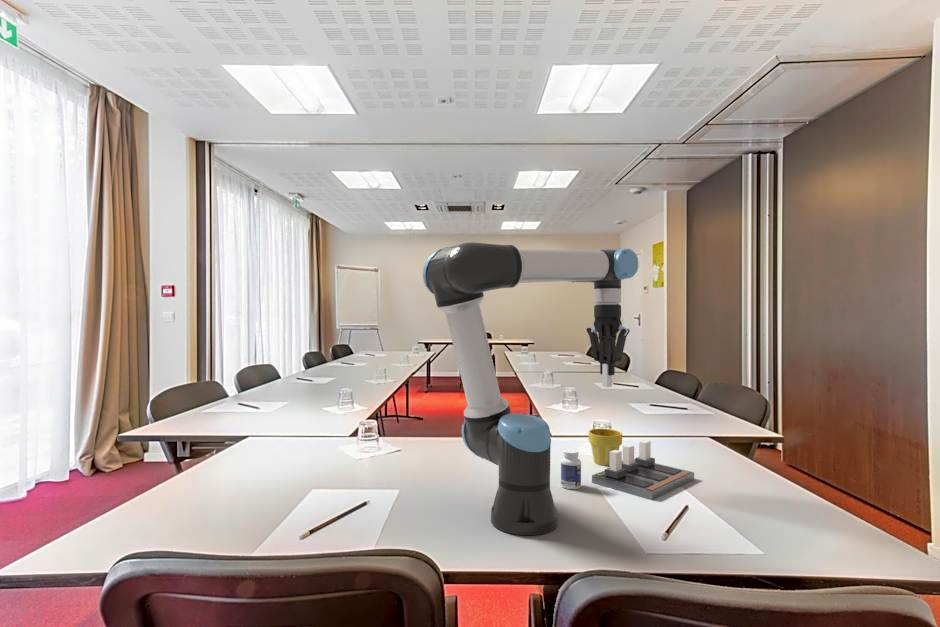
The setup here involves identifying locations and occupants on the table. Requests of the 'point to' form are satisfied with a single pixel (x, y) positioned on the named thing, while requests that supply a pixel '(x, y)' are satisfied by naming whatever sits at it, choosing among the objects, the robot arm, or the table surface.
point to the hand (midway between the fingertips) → (607, 386)
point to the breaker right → (645, 454)
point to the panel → (646, 480)
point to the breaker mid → (629, 458)
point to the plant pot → (604, 444)
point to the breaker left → (615, 465)
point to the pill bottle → (570, 470)
